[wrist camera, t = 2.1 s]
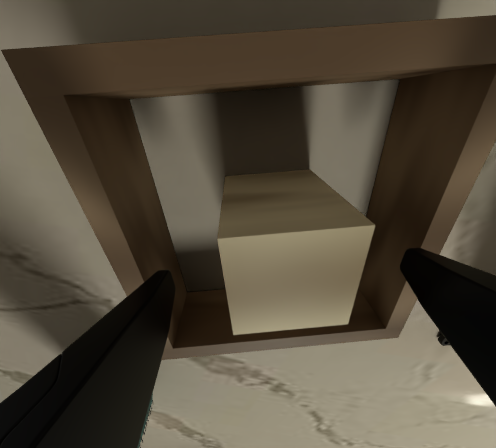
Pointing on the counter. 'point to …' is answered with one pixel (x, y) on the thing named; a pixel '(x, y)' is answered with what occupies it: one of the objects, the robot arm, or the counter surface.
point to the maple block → (289, 251)
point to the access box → (266, 77)
